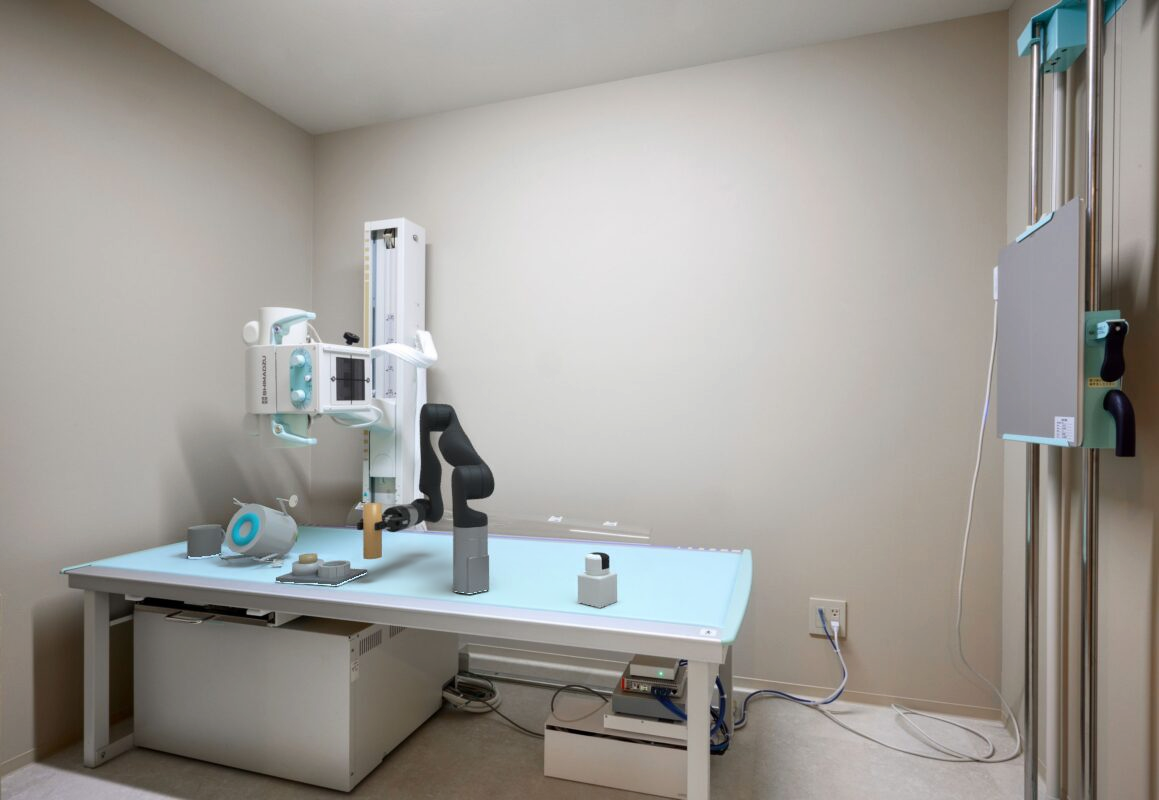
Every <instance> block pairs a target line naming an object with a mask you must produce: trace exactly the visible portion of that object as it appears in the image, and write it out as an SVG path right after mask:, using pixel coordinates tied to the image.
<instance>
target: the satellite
mask: <svg viewBox="0 0 1159 800" xmlns="http://www.w3.org/2000/svg"><path fill="white" fill-rule="evenodd" d="M233 500H234V501H235V502H233V504H235V505H237V506H240V507H241V508H239V510H238V511H237V512H235V513H234V515H233V516H232V518H231V519H230V520H229V524H228V526H227V527H226V532H225V543H226V545H227V547H228V549H229V550H230V551H232V553H236V554H239V555H229V556H228V555H227V556H221V557H220V556H219V559H221V561H227V562H230V560H235V559H245V558H256V559H257V561H258V562H259V563H263V562H268V563H272V564H271V566H272V567H276V566H278V564H281V565H284V563H285V560H284V559H280V558H283V557H284V556H285V555H287V554H289V552H291V550H292V549H293V548H294V546H295V544H296V543H297V542H298V538H299V531H298V526H297V525H298V524H297V523H296V521H295V519H294V518H293V517H292V516H291V515H289V514H288V512H287V508H286V506H285V504H284V501H286V502H288V504H289V507H291V508H294V507H296V506H297V505H298V500H299V497H298V495H297V494H292V495H291V496H290V498H289V499H284V498H282V497H279V498H277V497H276V500H278V502H279V506H280V507H281V510H282V511H280V510H276V509H273V508H270V507H268V506H264V505H262V504H259V503H246V502H245V503H242V502H241V501H240V500H238V499H237V498H235V497H233ZM277 558H278V559H279V560H278V559H277ZM256 559H253V560H254V561H256ZM267 559H274V560H267Z"/></svg>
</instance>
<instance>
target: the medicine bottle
mask: <svg viewBox="0 0 1159 800" xmlns="http://www.w3.org/2000/svg"><path fill="white" fill-rule="evenodd" d="M584 558H585V559H584V562H585V563H584V564H585V565H584V566H585V567H584V571H585V572H582V573H581V572H580V573H578V574H577V603H578V602H580V603H584V604H587V605H586V606H588V605H591V606H590V607H593V606H595V607H594V608H597V607H599V608H598V609H602V608H605V607H607V606H609V604H610V605H612V604H614V602H615V603H616V602H618V573H617V572H613V571H610V566H611V565H610V556H609V554H607V553H606V552H602V551H601V552H599V551H598V552H597V551H595V552H594V551H593V552H590V553H587V554H586V555H585V557H584ZM580 603H579V604H580ZM584 604H583V605H584ZM604 606H605V607H604ZM601 607H602V608H601Z"/></svg>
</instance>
